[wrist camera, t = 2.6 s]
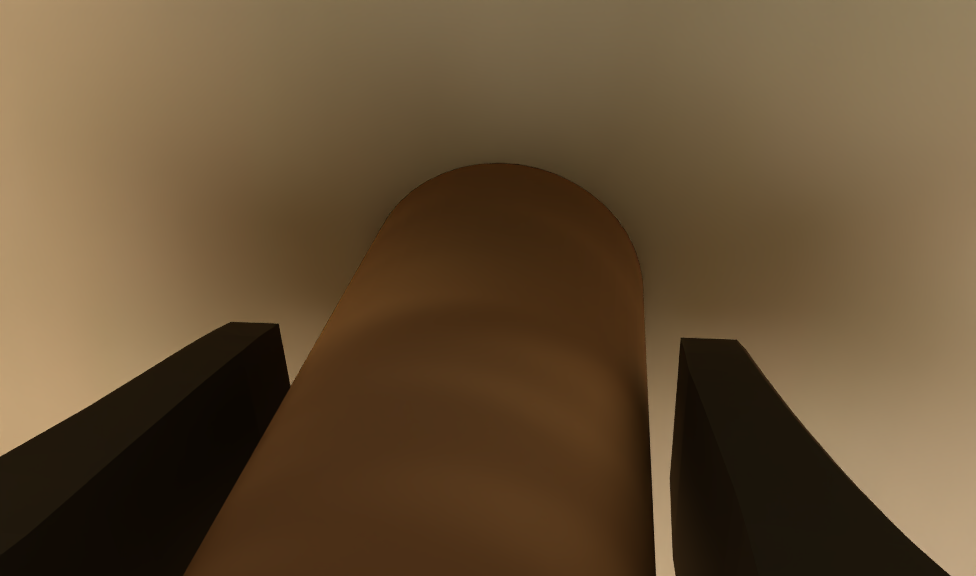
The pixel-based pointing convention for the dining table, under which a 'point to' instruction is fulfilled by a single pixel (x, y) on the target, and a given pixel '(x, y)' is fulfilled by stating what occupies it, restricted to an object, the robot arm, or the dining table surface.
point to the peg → (463, 401)
